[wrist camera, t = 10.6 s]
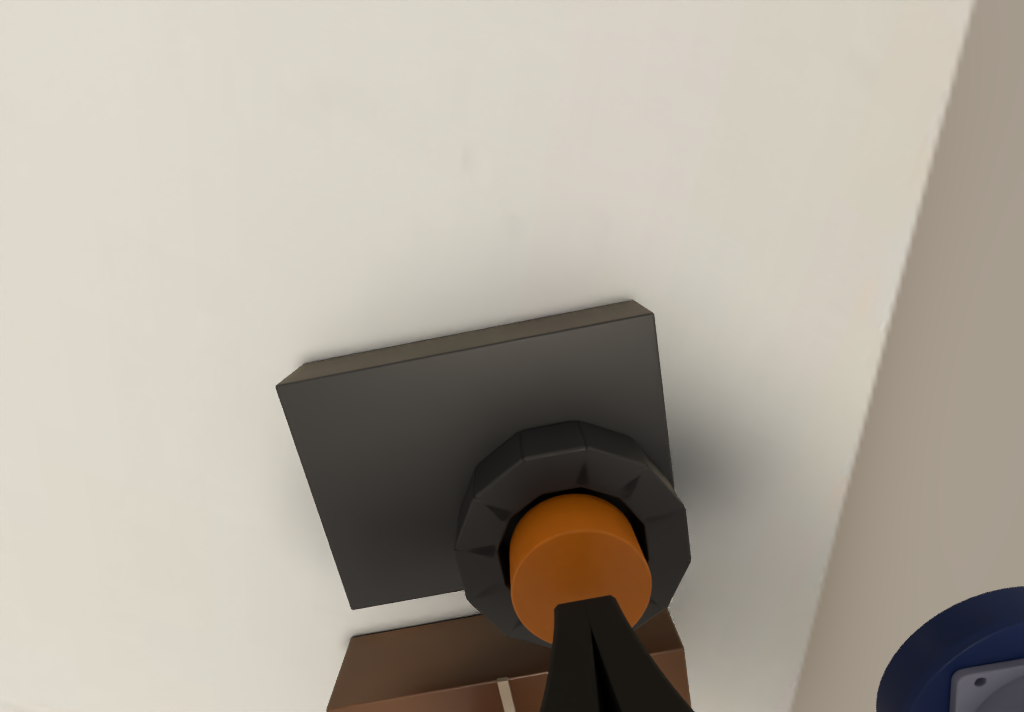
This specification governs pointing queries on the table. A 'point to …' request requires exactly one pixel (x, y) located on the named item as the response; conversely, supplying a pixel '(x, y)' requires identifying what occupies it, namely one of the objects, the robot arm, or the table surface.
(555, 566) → the switch button
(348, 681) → the dimmer panel
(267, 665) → the table surface
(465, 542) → the switch block
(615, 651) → the robot arm
